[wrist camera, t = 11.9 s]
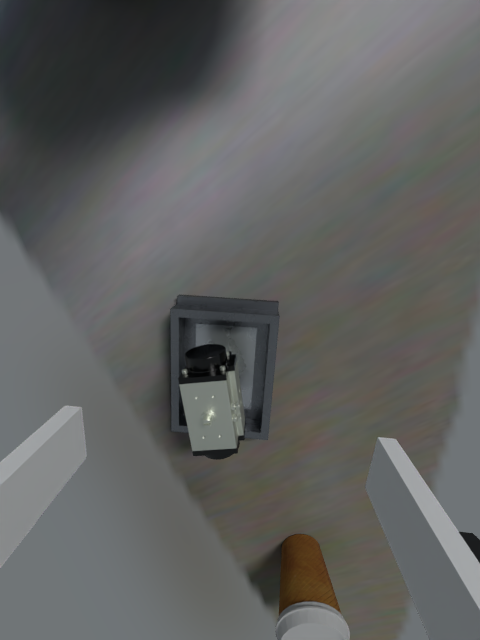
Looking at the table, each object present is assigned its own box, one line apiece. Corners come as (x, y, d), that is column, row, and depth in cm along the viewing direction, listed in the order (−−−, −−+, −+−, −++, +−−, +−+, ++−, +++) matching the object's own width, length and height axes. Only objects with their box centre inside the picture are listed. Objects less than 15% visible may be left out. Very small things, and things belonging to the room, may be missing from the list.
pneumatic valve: (211, 409, 40) (192, 476, 29) (198, 331, 37) (171, 370, 26) (250, 406, 40) (247, 472, 28) (240, 326, 37) (231, 364, 25)
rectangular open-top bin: (179, 294, 37) (170, 300, 34) (278, 301, 37) (280, 307, 33) (179, 419, 42) (171, 437, 38) (266, 427, 42) (267, 446, 38)
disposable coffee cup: (274, 569, 49) (279, 670, 37) (269, 526, 46) (273, 620, 35) (330, 569, 48) (353, 672, 36) (328, 525, 46) (352, 620, 34)
